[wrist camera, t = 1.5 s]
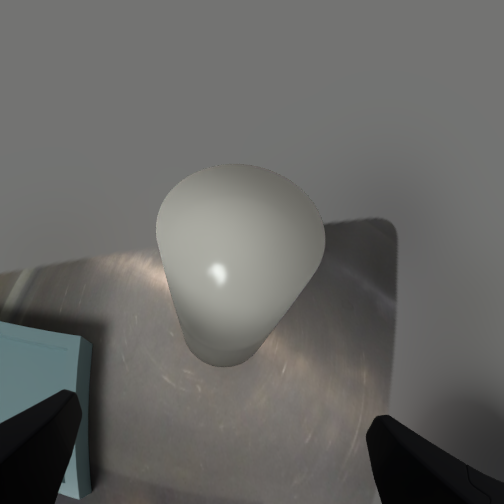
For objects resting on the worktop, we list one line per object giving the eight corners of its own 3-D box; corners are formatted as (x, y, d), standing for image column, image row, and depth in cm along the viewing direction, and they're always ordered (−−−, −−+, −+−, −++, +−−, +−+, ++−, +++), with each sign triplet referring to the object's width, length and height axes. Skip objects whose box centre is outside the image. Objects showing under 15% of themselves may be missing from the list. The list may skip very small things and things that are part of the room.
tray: (91, 492, 13) (79, 499, 11) (-21, 447, 11) (-37, 446, 9) (92, 344, 19) (80, 336, 17) (-13, 323, 17) (-28, 314, 15)
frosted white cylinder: (265, 366, 20) (338, 304, 9) (181, 366, 19) (144, 300, 8) (261, 291, 23) (311, 170, 12) (184, 289, 22) (168, 161, 11)
